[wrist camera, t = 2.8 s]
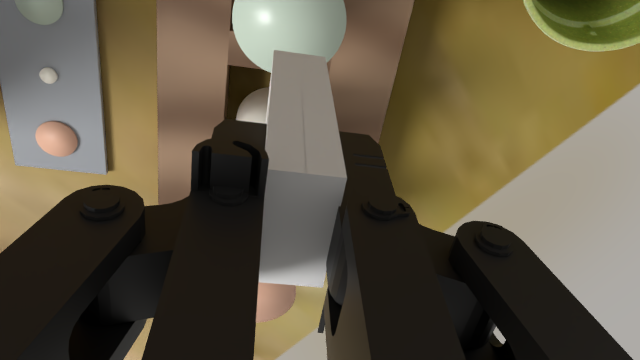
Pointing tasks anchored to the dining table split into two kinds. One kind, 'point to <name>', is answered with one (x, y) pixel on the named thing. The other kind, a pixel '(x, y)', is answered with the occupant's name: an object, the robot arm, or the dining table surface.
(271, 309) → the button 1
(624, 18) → the plant pot
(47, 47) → the card
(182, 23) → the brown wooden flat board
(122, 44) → the dining table surface
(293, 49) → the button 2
